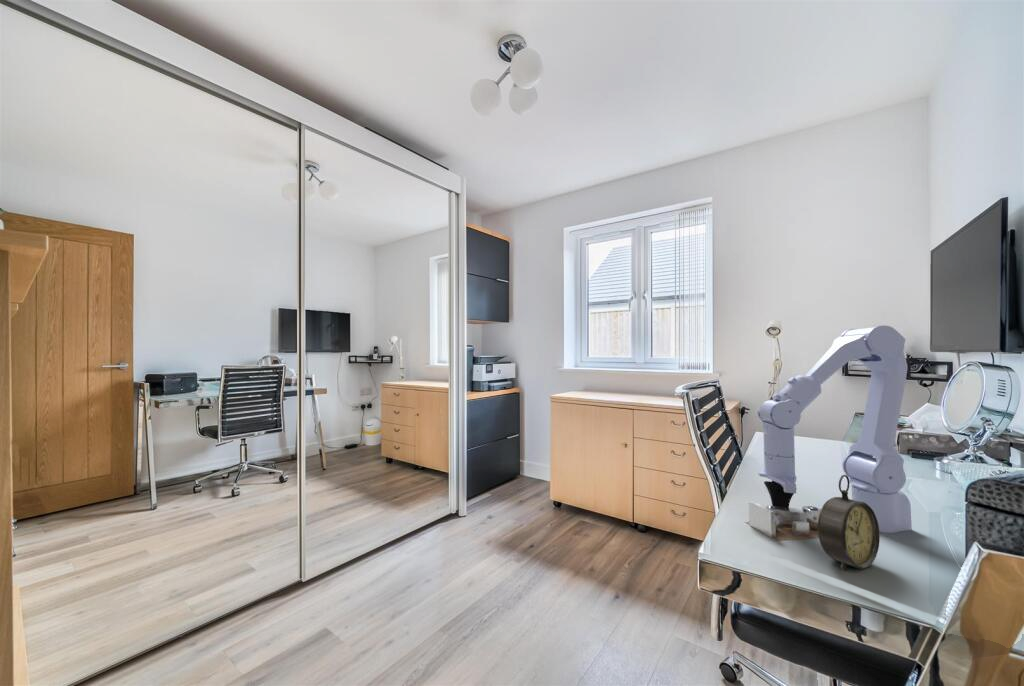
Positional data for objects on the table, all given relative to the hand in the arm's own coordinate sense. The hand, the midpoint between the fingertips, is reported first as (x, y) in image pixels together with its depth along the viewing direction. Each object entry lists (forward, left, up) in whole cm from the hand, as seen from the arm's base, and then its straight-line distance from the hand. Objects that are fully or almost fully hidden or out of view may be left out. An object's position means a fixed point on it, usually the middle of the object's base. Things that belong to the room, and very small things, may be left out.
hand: (780, 516), depth 87 cm
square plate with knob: (+4, +4, -1) cm, 6 cm away
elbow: (-1, +3, -1) cm, 3 cm away
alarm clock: (+3, +18, -2) cm, 18 cm away
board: (0, +4, -2) cm, 5 cm away
